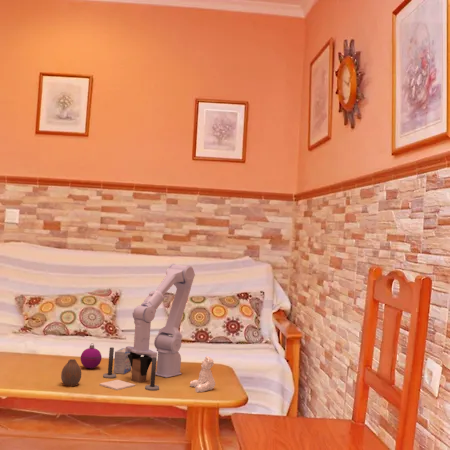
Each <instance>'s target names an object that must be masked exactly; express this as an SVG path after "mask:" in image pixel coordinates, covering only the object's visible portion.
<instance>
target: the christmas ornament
mask: <svg viewBox="0 0 450 450" xmlns="http://www.w3.org/2000/svg"><path fill="white" fill-rule="evenodd" d="M80 362H81V364H82V366H83V367H85V368H86V369H91V370H92V369H95V368H96V367H98V366H99V365H100V363H101V362H102V353H101V351H100V350H98V349H97V348H95V344H94V343H91V344H90V345H89V347H88V348H86V349H84V350H83V351H82V353H81V355H80Z"/></svg>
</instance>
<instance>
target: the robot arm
mask: <svg viewBox="0 0 450 450" xmlns="http://www.w3.org/2000/svg"><path fill="white" fill-rule="evenodd" d="M195 276H196V274H195V269H194V268H193V266H192V265H184V264H176V263H171V264H170V265H169V266H168V268H167V269H166V270H165V276H164V278H163V280H162V281H161V282H160V284H159V285H158V287H157V288H156V290H152V291H150V292H149V293H148V295H147V297H146V298H145V299H144V300H143V302H141V304H140V305H137V306H136V307H134V310H133V312H132V318H133V320H134V321H133V324H134V325H135V326H134V337H133V338H134V339H133V346H129V345H128V346H125V348H126V349H125V352H130V354H128V358H129V360H130V363H131V368H132V363H133V359H136V358H140V362H141V376H145V375H146V374H147V375H148V370H149V368H150V366H151V365H152V358H153V357H155V358H157V360H156V374H155V376H159V377H163V378H170V377H171V378H172V377H174V376H179V375H182V372H181V365H182V356H181V354H180V353H179V351H180V349H181V347H182V338H183V334H182V333H181V331H180V330H179V329H180V326H181V322H182V319H183V315H184V314H185V309H186V306H187V303H188V299H189V296H190V292H191V289H192V285H193V283H194V279H195ZM173 285H174V286H175V288H176V292H175V294H174V297H173V300H172V304H171V307H170V311H169V313H168V317H167V320H166V323H165V326H163V327H162V328H160V329H159V331H158V333H157V335H156V336H155V338H154V342H153V344H154V348H155V349H156V351H153V350H151V349H150V338H151V323H152V321H153V320H154V319H155V317H156V312H157V310H158V308H159V306H160V305H161V304H162V303H163V302H164V295H165V294H166V293H167V292H168V290H170V289H171V287H172V286H173Z"/></svg>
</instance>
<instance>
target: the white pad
mask: <svg viewBox="0 0 450 450" xmlns="http://www.w3.org/2000/svg"><path fill="white" fill-rule="evenodd" d="M99 386H101V387H106V388H108V389H112V390H115V391H119V390H123V389H127V388H132V387H136V384H135V383H130V382H128V381H124V380H121V379H115V380H111V381H110V380H109V381H105V382H101V383H99Z"/></svg>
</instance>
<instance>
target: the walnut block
mask: <svg viewBox="0 0 450 450" xmlns="http://www.w3.org/2000/svg"><path fill="white" fill-rule="evenodd" d="M147 379H148V373H147V374H146V375H145V376H141V362H140V358H136V359H133V363H132V367H131V381H133V382H136V383H139V384H140V383H143V382H147V381H148V380H147Z"/></svg>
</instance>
